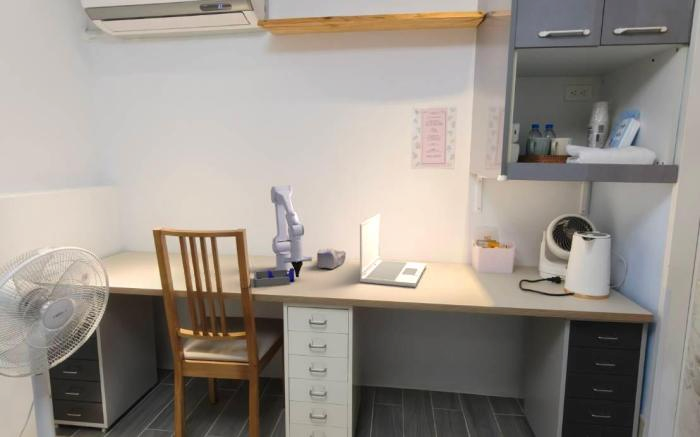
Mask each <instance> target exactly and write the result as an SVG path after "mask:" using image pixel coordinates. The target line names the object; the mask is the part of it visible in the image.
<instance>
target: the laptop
mask: <svg viewBox="0 0 700 437" xmlns="http://www.w3.org/2000/svg"><path fill="white" fill-rule="evenodd" d="M380 227H381V213H378V214H376V215H375V216H373V217H371V218H369V219H367V220H366V221H363V222H362V223H360V224H359V282H360V283H365V284H368V283H369V284H375V285H376V284H378V285H386V286H387V285H388V286H395V287H396V286H398V287H408V288H415V287H416V286H417V284H418V283H419V280H420V278H421V277H422V276H423V273H424V271H425V269H426V267H427V263H421V262H411V261H398V260H397V261H395V260H385V259H383V260H380V259H381V257H380V256H381V254H380V253H381V242H380V241H381V228H380Z"/></svg>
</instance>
